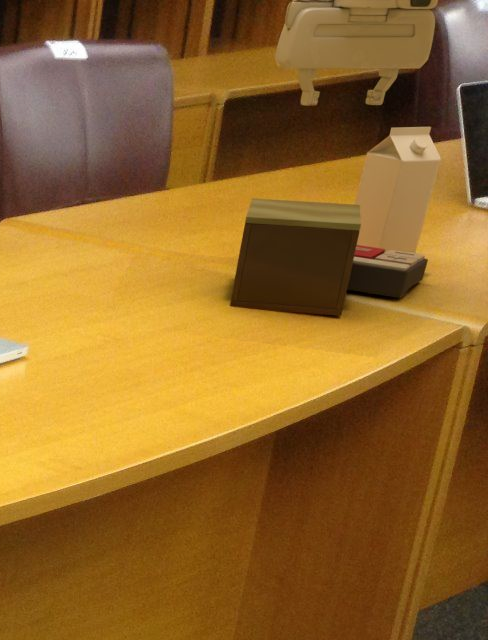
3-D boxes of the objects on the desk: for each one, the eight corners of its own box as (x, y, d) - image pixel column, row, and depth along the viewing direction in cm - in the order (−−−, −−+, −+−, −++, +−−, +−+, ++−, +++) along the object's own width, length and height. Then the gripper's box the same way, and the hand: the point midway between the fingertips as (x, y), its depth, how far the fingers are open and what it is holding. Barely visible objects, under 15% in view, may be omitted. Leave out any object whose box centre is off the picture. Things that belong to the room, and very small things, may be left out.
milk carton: (340, 254, 234) (373, 124, 225) (378, 252, 236) (412, 123, 227) (374, 265, 228) (410, 131, 219) (413, 263, 230) (449, 130, 221)
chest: (235, 286, 214) (249, 207, 210) (341, 295, 209) (358, 214, 205) (229, 306, 203) (244, 223, 198) (341, 316, 198) (359, 230, 193)
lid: (250, 204, 212) (252, 198, 211) (358, 210, 207) (359, 204, 206) (245, 222, 198) (246, 216, 198) (359, 230, 193) (361, 224, 193)
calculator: (430, 253, 216) (409, 266, 205) (421, 284, 218) (400, 298, 207) (348, 241, 222) (323, 253, 211) (340, 271, 224) (315, 284, 213)
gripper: (304, -7, 195) (281, 108, 201) (451, -7, 198) (424, 106, 204) (277, -9, 201) (256, 102, 207) (421, -9, 203) (395, 101, 209)
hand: (341, 105), depth 205 cm, fingers open, 8 cm apart
